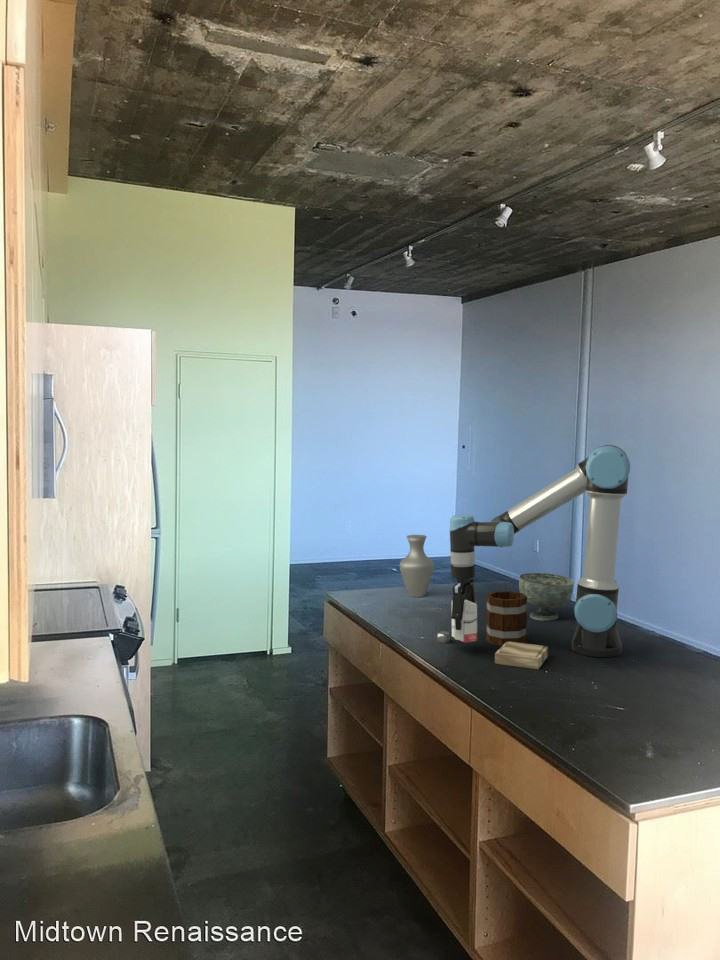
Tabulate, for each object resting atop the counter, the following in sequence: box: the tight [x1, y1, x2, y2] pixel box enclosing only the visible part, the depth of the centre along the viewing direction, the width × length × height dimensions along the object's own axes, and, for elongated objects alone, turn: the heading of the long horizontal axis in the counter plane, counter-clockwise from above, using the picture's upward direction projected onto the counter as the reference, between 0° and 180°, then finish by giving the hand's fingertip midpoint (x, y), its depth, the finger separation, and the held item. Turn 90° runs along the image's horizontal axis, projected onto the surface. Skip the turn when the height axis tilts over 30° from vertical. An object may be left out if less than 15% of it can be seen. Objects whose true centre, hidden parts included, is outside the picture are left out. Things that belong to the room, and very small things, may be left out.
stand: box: [494, 642, 549, 670], centre depth 225 cm, size 13×13×4 cm
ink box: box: [451, 599, 478, 643], centre depth 234 cm, size 9×5×12 cm, turn 22°
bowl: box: [518, 572, 575, 622], centre depth 273 cm, size 20×19×15 cm
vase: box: [399, 534, 435, 598], centre depth 309 cm, size 14×14×25 cm
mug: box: [485, 590, 528, 647], centre depth 248 cm, size 20×14×15 cm
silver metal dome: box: [436, 630, 450, 645], centre depth 245 cm, size 4×4×3 cm
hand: (464, 635), depth 234 cm, fingers closed on ink box, 9 cm apart
